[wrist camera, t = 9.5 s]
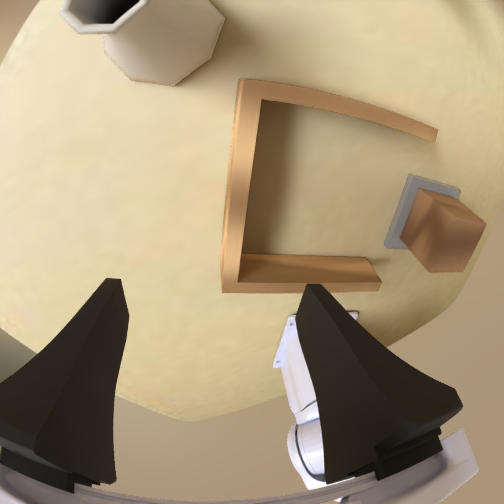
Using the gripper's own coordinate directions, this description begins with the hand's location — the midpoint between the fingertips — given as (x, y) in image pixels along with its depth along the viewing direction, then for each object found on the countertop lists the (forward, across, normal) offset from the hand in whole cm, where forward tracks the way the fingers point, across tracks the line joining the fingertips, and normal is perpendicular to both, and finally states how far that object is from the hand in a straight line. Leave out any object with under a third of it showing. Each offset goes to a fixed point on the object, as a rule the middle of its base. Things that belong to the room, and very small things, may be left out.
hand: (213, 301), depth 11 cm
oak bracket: (+10, -8, -1) cm, 13 cm away
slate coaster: (+10, -19, 0) cm, 22 cm away
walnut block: (+10, -19, 0) cm, 21 cm away
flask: (+11, +4, -11) cm, 16 cm away
